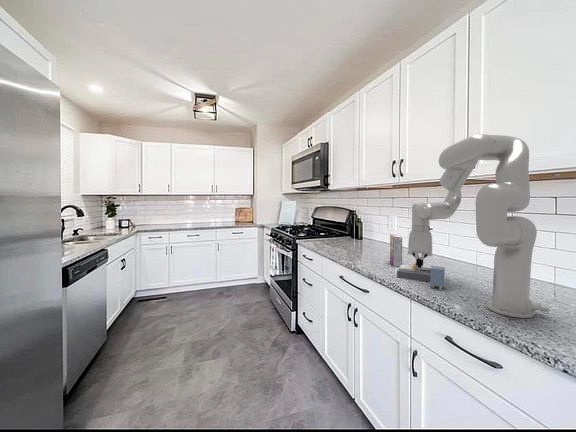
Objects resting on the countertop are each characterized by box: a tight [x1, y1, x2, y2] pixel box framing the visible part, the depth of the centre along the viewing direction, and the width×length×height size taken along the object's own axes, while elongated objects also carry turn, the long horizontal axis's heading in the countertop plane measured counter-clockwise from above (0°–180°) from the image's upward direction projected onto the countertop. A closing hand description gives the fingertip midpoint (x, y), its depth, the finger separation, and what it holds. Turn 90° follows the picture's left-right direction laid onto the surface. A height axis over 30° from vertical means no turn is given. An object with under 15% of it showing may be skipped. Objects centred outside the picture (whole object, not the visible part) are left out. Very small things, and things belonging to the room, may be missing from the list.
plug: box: [429, 265, 446, 291], centre depth 115 cm, size 5×4×8 cm
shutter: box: [398, 262, 417, 271], centre depth 134 cm, size 7×8×2 cm
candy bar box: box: [389, 233, 403, 268], centre depth 153 cm, size 11×5×16 cm, turn 168°
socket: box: [396, 266, 431, 283], centre depth 132 cm, size 16×14×3 cm
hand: (419, 267), depth 131 cm, fingers closed
